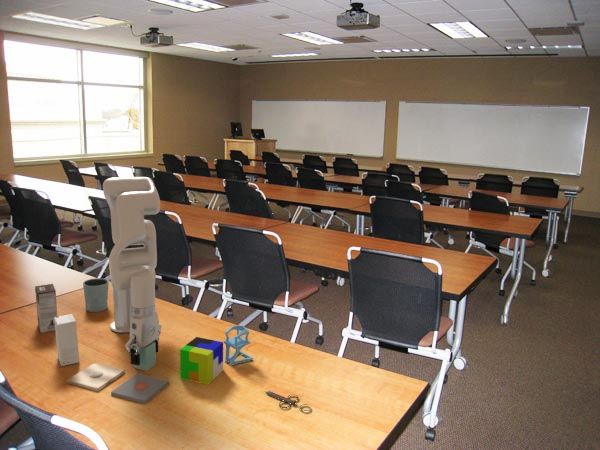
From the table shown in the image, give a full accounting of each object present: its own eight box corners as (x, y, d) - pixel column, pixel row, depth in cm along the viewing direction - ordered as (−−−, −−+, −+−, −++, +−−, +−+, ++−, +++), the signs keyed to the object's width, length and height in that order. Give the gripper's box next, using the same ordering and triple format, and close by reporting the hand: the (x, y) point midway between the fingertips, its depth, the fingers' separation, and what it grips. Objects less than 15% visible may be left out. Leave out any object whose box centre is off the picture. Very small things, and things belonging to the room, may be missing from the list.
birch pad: (95, 365, 161) (94, 362, 160) (124, 372, 157) (124, 369, 157) (66, 382, 150) (66, 379, 149) (97, 391, 146) (97, 387, 145)
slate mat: (137, 376, 155) (137, 372, 155) (169, 383, 151) (169, 380, 151) (111, 394, 144) (111, 391, 144) (144, 403, 140) (144, 400, 140)
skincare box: (79, 362, 162) (77, 321, 159) (60, 367, 159) (56, 324, 156) (75, 352, 169) (73, 312, 166) (56, 356, 166) (53, 316, 163)
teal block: (143, 361, 165) (143, 339, 163) (156, 364, 163) (155, 342, 162) (134, 367, 160) (133, 345, 159) (146, 370, 159) (146, 348, 157)
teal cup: (92, 303, 214) (91, 277, 212) (114, 305, 213) (113, 279, 210) (79, 311, 204) (77, 284, 202) (102, 313, 203) (100, 286, 201)
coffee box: (37, 324, 190) (34, 285, 187) (55, 321, 194) (52, 283, 191) (40, 333, 183) (37, 293, 180) (59, 329, 187) (56, 290, 183)
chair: (220, 360, 168) (220, 328, 165) (238, 352, 174) (239, 321, 171) (234, 368, 162) (234, 335, 160) (253, 359, 168) (253, 327, 166)
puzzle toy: (223, 370, 161) (223, 342, 159) (207, 384, 152) (207, 355, 150) (196, 364, 164) (196, 336, 162) (180, 378, 155) (179, 349, 153)
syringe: (268, 387, 152) (268, 382, 152) (317, 406, 143) (317, 401, 143) (252, 398, 146) (253, 392, 146) (302, 419, 136) (303, 413, 136)
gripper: (135, 321, 149) (137, 372, 152) (168, 302, 164) (169, 349, 168) (115, 317, 151) (117, 367, 154) (150, 299, 167) (151, 345, 170)
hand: (144, 357), depth 161 cm, fingers open, 9 cm apart
